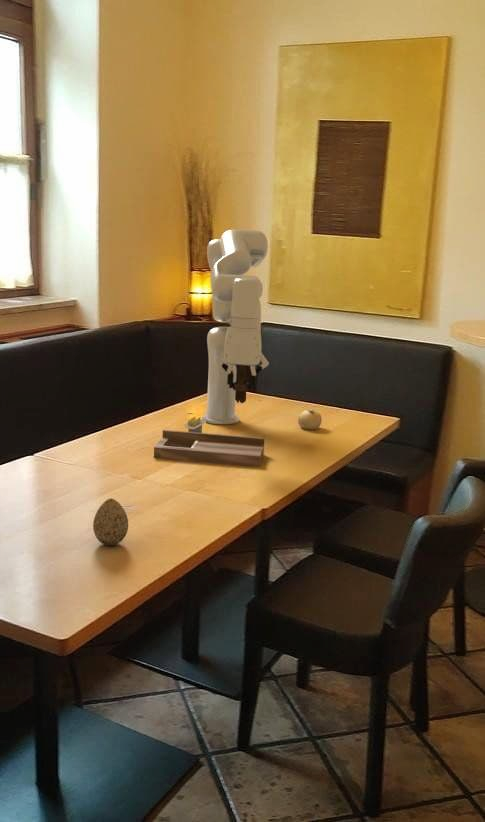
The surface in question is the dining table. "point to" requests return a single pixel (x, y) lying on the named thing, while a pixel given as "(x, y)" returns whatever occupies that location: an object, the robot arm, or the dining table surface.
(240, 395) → the bolt
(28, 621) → the dining table surface
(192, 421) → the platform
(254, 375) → the robot arm
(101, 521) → the decorative egg
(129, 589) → the dining table surface
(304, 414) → the onion
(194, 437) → the brown wooden long tray
